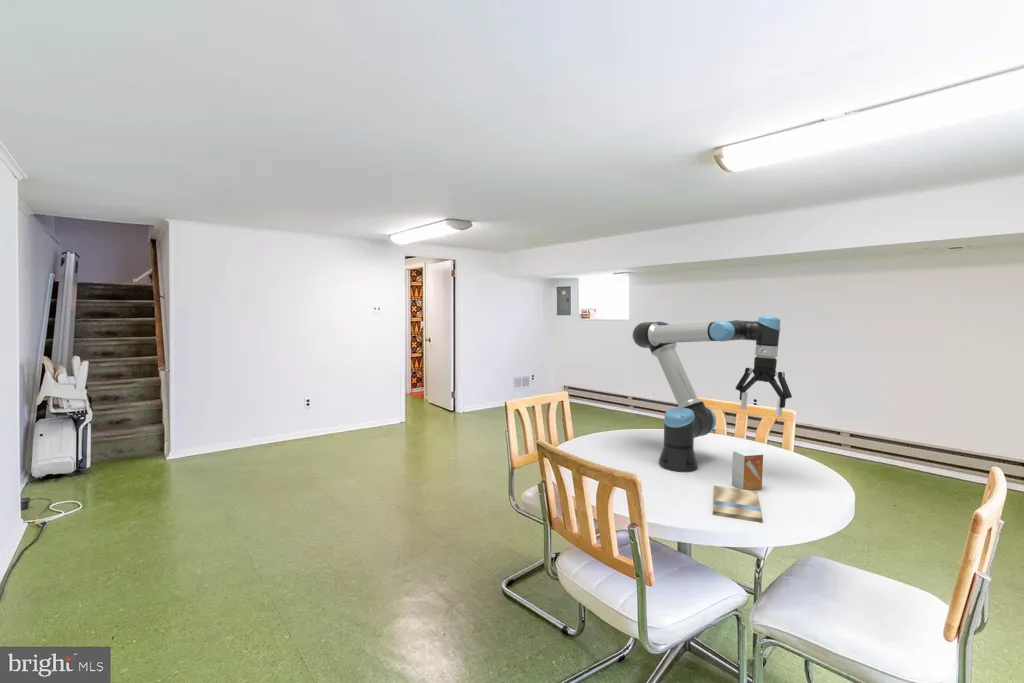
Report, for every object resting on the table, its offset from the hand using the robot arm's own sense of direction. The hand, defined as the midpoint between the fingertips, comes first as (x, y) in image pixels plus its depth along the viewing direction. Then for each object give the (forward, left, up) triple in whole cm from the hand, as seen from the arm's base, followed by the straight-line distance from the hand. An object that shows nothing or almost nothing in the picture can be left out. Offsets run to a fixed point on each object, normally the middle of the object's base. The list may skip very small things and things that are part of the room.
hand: (760, 412), depth 182 cm
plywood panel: (-9, -31, -26) cm, 41 cm away
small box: (-5, -12, -26) cm, 29 cm away
